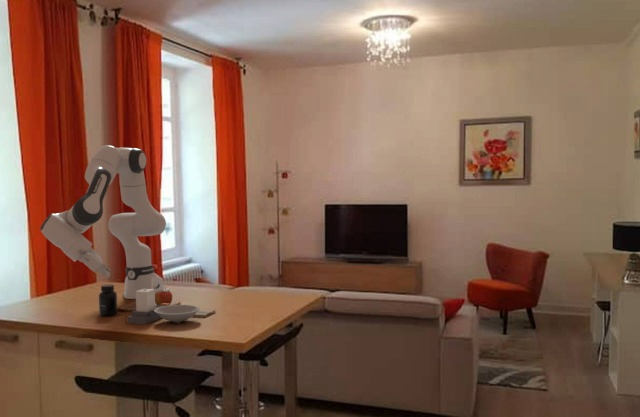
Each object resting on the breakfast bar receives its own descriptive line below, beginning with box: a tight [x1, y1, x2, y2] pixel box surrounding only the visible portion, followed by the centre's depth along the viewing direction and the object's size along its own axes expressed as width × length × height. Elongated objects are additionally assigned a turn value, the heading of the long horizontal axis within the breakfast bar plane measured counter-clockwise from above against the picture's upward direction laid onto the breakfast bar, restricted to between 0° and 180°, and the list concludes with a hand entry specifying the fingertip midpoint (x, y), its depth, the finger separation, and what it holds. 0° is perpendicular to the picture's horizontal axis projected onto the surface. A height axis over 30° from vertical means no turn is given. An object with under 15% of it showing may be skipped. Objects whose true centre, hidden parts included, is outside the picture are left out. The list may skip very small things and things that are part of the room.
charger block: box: [135, 289, 156, 312], centre depth 210 cm, size 5×5×9 cm
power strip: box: [127, 303, 171, 325], centre depth 217 cm, size 26×8×4 cm, turn 162°
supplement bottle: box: [98, 284, 118, 318], centre depth 219 cm, size 7×7×12 cm
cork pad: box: [191, 308, 216, 319], centre depth 216 cm, size 8×8×1 cm
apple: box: [155, 287, 173, 306], centre depth 229 cm, size 7×7×8 cm
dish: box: [154, 304, 201, 324], centre depth 205 cm, size 18×14×5 cm
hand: (109, 274), depth 204 cm, fingers open, 8 cm apart
